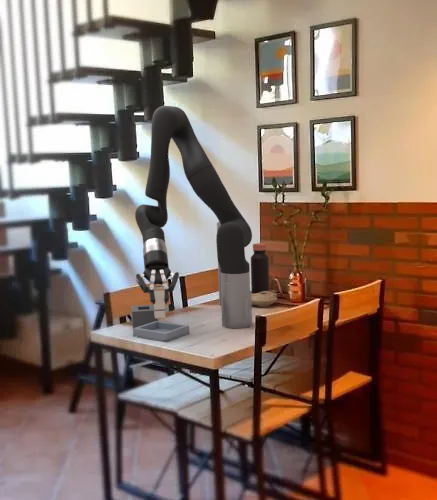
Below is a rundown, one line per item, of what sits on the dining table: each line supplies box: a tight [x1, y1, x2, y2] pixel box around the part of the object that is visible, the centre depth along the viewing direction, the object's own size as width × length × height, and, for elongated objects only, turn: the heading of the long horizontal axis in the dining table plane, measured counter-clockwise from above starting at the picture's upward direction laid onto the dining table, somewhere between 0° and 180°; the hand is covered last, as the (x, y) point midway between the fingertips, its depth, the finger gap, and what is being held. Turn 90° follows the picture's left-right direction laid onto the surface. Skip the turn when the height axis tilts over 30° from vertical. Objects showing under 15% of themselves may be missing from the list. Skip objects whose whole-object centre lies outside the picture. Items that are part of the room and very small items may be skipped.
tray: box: [132, 320, 190, 343], centre depth 211 cm, size 13×11×2 cm
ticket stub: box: [154, 285, 166, 319], centre depth 210 cm, size 3×4×9 cm
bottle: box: [250, 242, 270, 294], centre depth 263 cm, size 7×7×20 cm
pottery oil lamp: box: [250, 290, 278, 308], centre depth 247 cm, size 9×12×7 cm
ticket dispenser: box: [130, 303, 159, 329], centre depth 224 cm, size 8×9×6 cm
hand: (159, 302), depth 207 cm, fingers closed on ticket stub, 3 cm apart
